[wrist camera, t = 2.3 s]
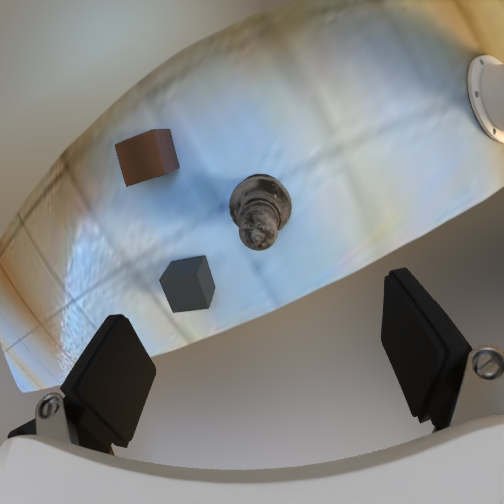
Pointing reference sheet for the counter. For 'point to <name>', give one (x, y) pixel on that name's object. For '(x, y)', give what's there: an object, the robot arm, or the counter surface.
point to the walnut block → (147, 156)
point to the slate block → (188, 284)
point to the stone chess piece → (260, 210)
